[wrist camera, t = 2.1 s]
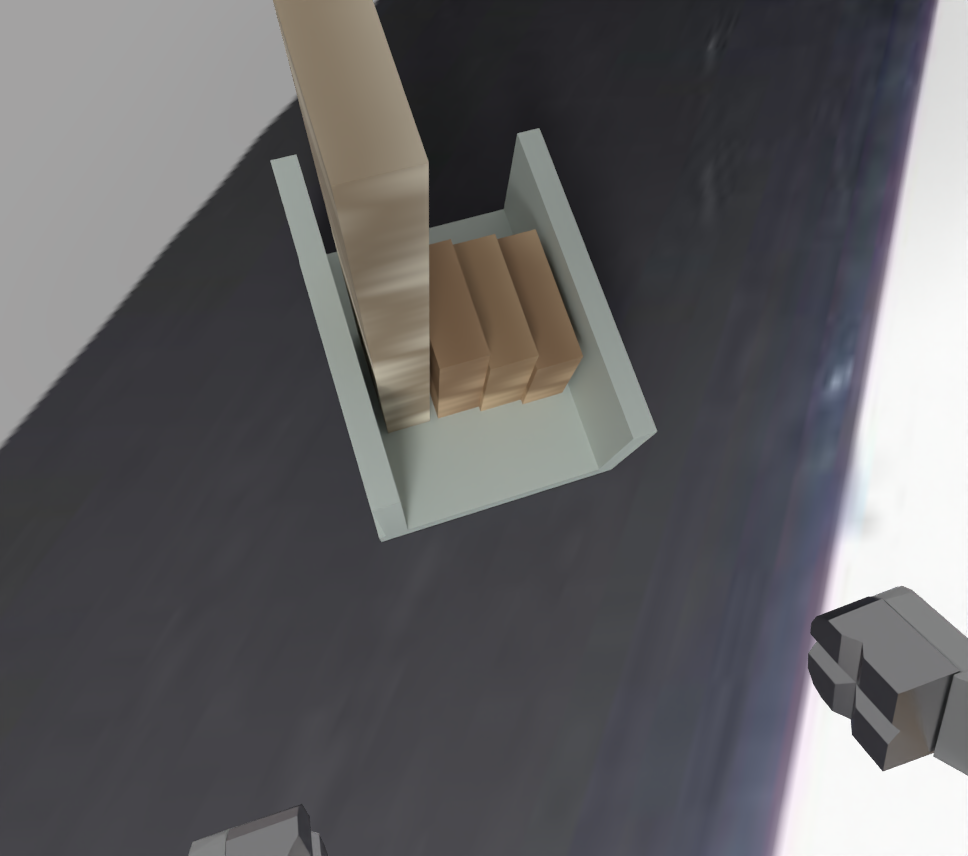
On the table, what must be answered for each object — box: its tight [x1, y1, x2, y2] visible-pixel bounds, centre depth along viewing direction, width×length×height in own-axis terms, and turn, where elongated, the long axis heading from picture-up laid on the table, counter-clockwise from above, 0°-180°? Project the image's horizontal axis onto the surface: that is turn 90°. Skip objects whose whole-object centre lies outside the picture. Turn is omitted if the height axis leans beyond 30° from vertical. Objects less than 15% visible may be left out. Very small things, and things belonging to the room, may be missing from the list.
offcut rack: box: [271, 128, 657, 542], centre depth 32 cm, size 12×14×10 cm
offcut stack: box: [429, 229, 583, 418], centre depth 32 cm, size 6×6×7 cm
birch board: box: [273, 0, 430, 433], centre depth 25 cm, size 2×5×20 cm, turn 18°
